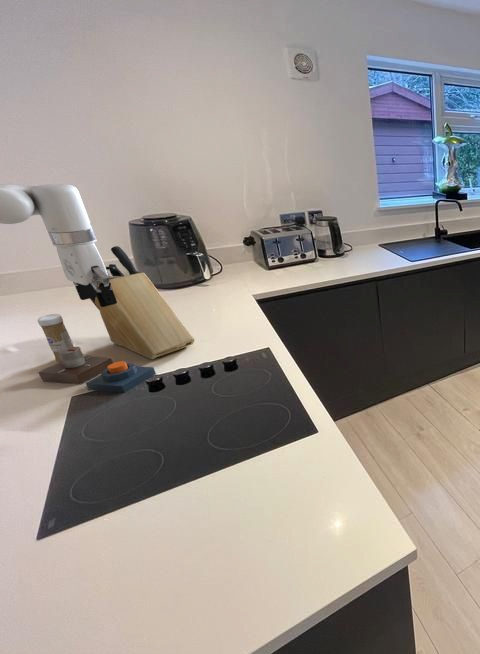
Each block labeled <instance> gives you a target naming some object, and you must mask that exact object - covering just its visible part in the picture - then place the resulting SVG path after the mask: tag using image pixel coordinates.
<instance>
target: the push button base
mask: <svg viewBox="0 0 480 654" xmlns="http://www.w3.org/2000/svg"><path fill="white" fill-rule="evenodd" d="M126 364H127V367H128V369H126V370H124V371H122V372H119V373H113V374H111V373H109V370H108V368H107V369H105V370H104V371H103V372H102V373H101V374H100V375H98V376H96V377H94V378H92V379H90V380H88V381H86V382H85V385H86V387H87V389H88V391H94V392H95V391H96V392H106V393H107V392H108V393H122V394H125V393H127V392H129V391H130V390H132V389H134V388H135V387H137V386H138V385H140V384H142V383H144V382H145V381H147V380H149V379H150V378H152V377H154V376H156V375H157V373H156V370H155V367H154V366H141V365H136V364H135V363H134V362H126Z"/></svg>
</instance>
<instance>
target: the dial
mask: <svg viewBox="0 0 480 654" xmlns="http://www.w3.org/2000/svg"><path fill="white" fill-rule="evenodd" d="M58 353H59V356H60V358H61V360H62V362H63V364H64V366H65V368H74V367H78V366H81V365H83V364H85V363H86V361H85V358H84V356H85V355H84V354H83V351H82V349H81V347H80V346H74V347H69V348H65V349H63V350H61V351H59V352H58Z"/></svg>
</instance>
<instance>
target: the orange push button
mask: <svg viewBox="0 0 480 654" xmlns="http://www.w3.org/2000/svg"><path fill="white" fill-rule="evenodd" d="M126 363H127V362H126V361H124V360H122V361H120V360H119V361H116V362H113V363H112V364H110V365H108V367H107V368H108V370H109V373H111V374H113V373H119V372H122V371H124V370H126V369H128V367H127V364H126Z"/></svg>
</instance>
